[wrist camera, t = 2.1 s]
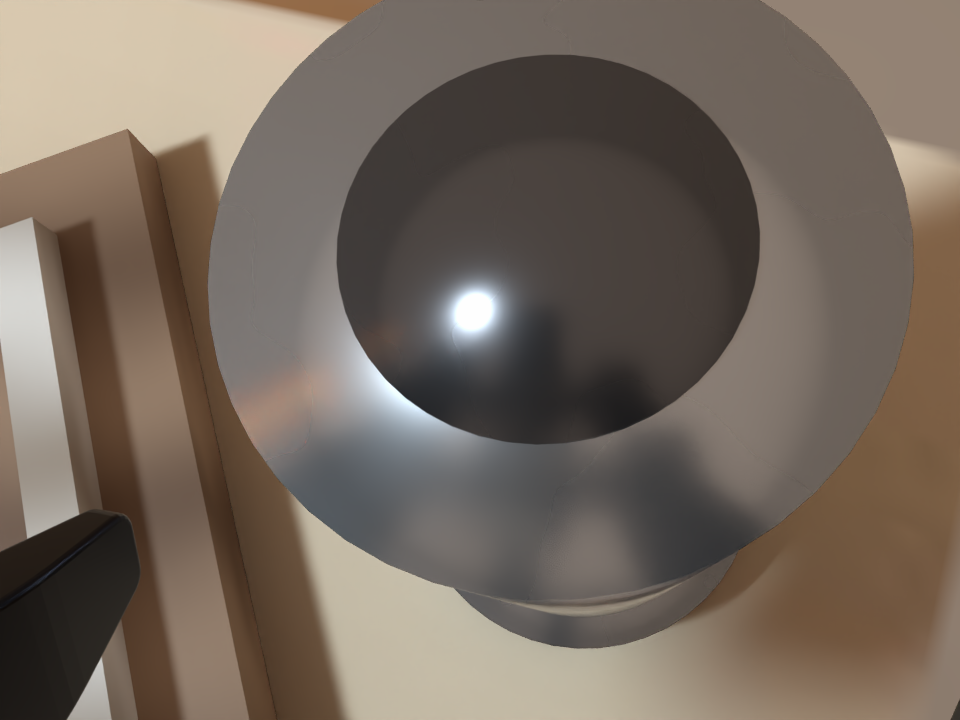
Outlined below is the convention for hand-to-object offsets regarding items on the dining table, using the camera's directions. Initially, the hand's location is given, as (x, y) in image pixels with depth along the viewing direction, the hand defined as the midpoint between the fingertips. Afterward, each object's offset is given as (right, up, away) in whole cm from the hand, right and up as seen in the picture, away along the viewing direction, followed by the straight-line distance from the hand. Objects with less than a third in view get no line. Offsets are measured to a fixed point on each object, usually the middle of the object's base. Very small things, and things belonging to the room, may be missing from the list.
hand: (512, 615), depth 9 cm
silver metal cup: (+2, 0, +10) cm, 11 cm away
